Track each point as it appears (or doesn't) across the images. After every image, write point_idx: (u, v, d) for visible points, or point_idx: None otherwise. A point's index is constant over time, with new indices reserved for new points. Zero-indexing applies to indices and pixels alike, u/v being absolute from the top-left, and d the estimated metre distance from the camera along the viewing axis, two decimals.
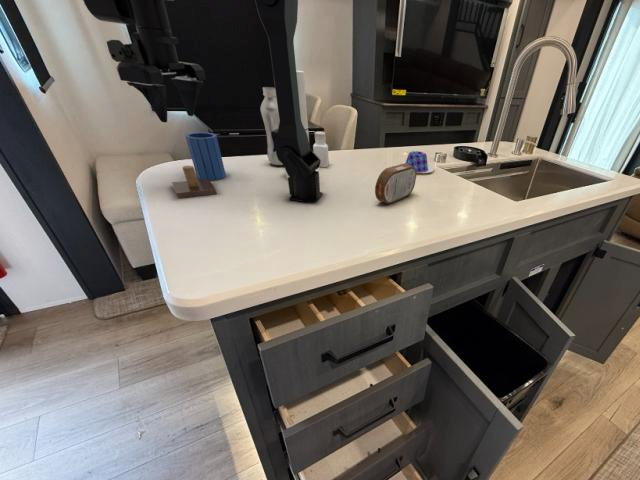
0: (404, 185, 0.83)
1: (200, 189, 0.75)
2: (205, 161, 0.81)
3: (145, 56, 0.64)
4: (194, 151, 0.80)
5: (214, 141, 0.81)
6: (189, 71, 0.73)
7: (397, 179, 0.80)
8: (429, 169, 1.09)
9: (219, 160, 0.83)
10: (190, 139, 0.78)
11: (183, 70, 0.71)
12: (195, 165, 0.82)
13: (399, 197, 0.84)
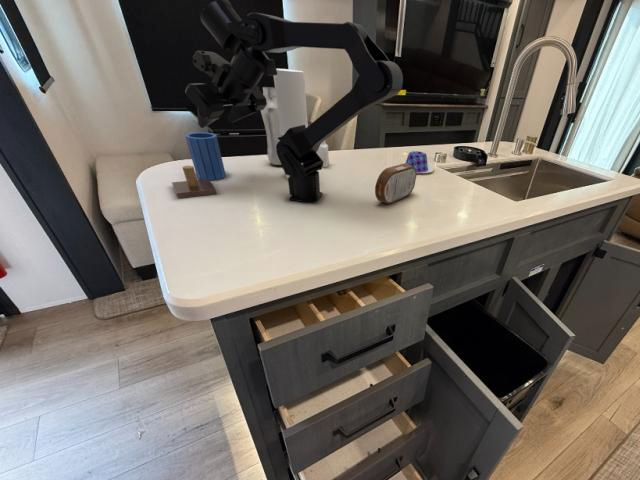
0: (404, 185, 0.83)
1: (200, 189, 0.75)
2: (205, 161, 0.81)
3: (221, 82, 0.69)
4: (194, 151, 0.80)
5: (214, 141, 0.81)
6: None
7: (397, 179, 0.80)
8: (429, 169, 1.09)
9: (219, 160, 0.83)
10: (190, 139, 0.78)
11: (248, 96, 0.76)
12: (195, 165, 0.82)
13: (399, 197, 0.84)
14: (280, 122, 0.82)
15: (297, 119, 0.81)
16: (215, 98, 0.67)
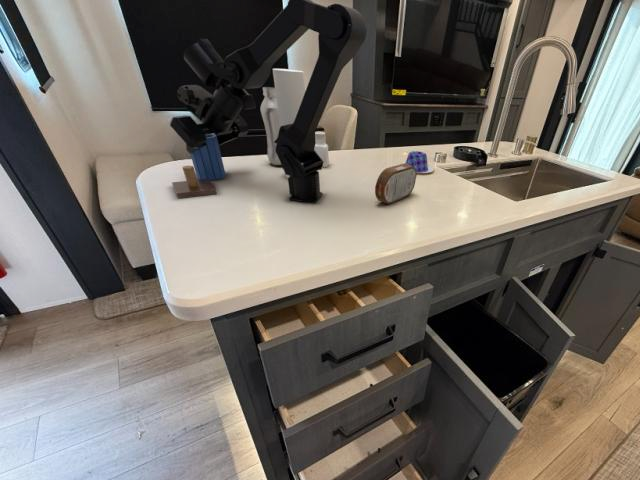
0: (404, 185, 0.83)
1: (200, 189, 0.75)
2: (205, 161, 0.81)
3: (204, 113, 0.74)
4: None
5: (214, 141, 0.81)
6: None
7: (397, 179, 0.80)
8: (429, 169, 1.09)
9: (219, 160, 0.83)
10: None
11: None
12: (195, 165, 0.82)
13: (399, 197, 0.84)
14: (280, 122, 0.82)
15: None
16: (198, 129, 0.72)
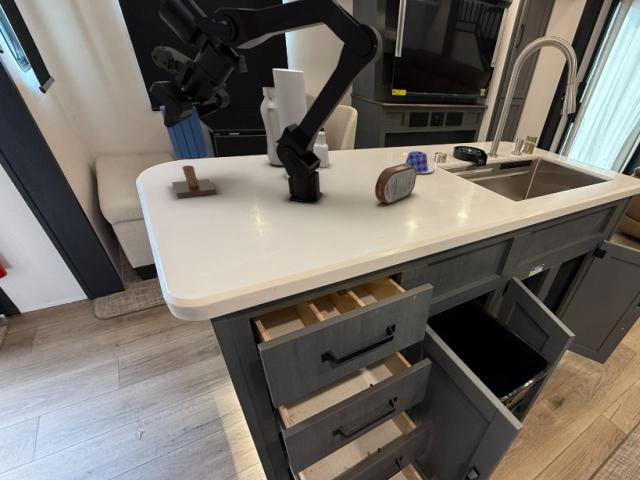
0: (404, 185, 0.83)
1: (200, 189, 0.75)
2: (187, 136, 0.72)
3: (186, 79, 0.66)
4: None
5: (195, 113, 0.72)
6: None
7: (397, 179, 0.80)
8: (429, 169, 1.09)
9: (201, 135, 0.75)
10: None
11: None
12: (174, 142, 0.72)
13: (399, 197, 0.84)
14: (280, 122, 0.82)
15: (297, 119, 0.81)
16: (183, 97, 0.64)
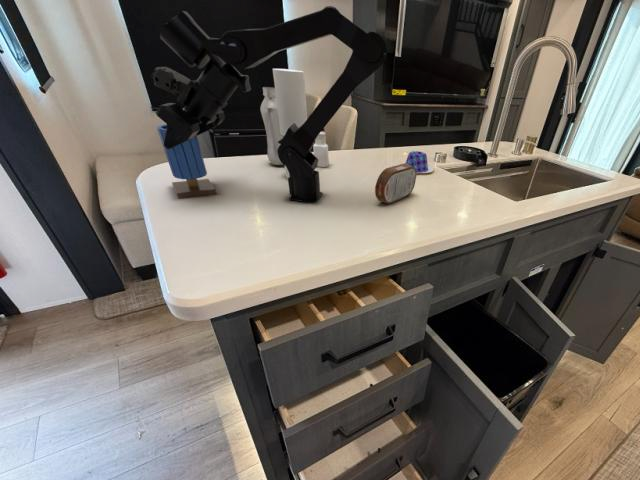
0: (404, 185, 0.83)
1: (200, 189, 0.75)
2: (188, 157, 0.71)
3: (189, 100, 0.65)
4: None
5: None
6: None
7: (397, 179, 0.80)
8: (429, 169, 1.09)
9: (201, 154, 0.73)
10: None
11: None
12: (174, 163, 0.71)
13: (399, 197, 0.84)
14: (280, 122, 0.82)
15: (297, 119, 0.81)
16: (190, 118, 0.63)
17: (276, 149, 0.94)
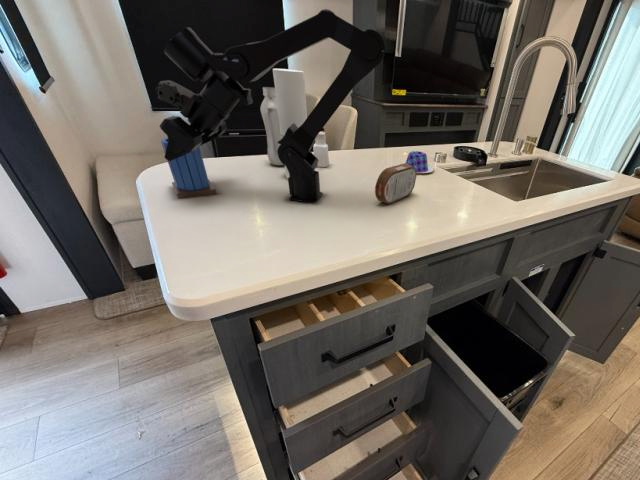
0: (404, 185, 0.83)
1: (200, 189, 0.75)
2: (191, 169, 0.72)
3: (192, 112, 0.66)
4: (177, 159, 0.70)
5: None
6: None
7: (397, 179, 0.80)
8: (429, 169, 1.09)
9: (203, 166, 0.75)
10: None
11: None
12: (178, 175, 0.72)
13: (399, 197, 0.84)
14: (280, 122, 0.82)
15: (297, 119, 0.81)
16: (193, 131, 0.65)
17: (276, 149, 0.94)
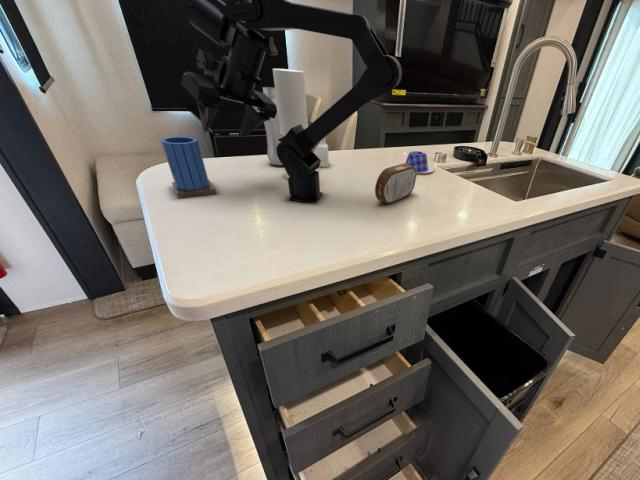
0: (404, 185, 0.83)
1: (200, 189, 0.75)
2: (191, 169, 0.72)
3: (223, 77, 0.66)
4: (177, 159, 0.70)
5: (197, 145, 0.72)
6: None
7: (397, 179, 0.80)
8: (429, 169, 1.09)
9: (203, 166, 0.75)
10: (172, 145, 0.68)
11: (257, 102, 0.73)
12: (178, 175, 0.72)
13: (399, 197, 0.84)
14: (280, 122, 0.82)
15: (297, 119, 0.81)
16: (211, 85, 0.62)
17: None
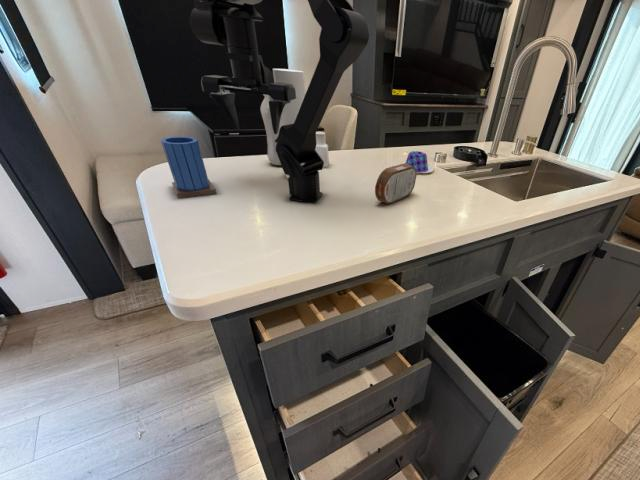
0: (404, 185, 0.83)
1: (200, 189, 0.75)
2: (191, 169, 0.72)
3: None
4: (177, 159, 0.70)
5: (197, 145, 0.72)
6: None
7: (397, 179, 0.80)
8: (429, 169, 1.09)
9: (203, 166, 0.75)
10: (172, 145, 0.68)
11: None
12: (178, 175, 0.72)
13: (399, 197, 0.84)
14: (280, 122, 0.82)
15: None
16: (217, 77, 0.69)
17: None
